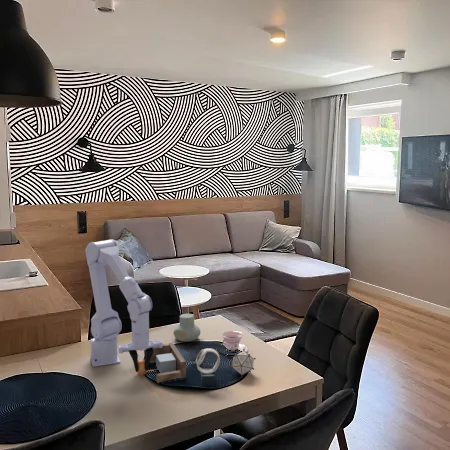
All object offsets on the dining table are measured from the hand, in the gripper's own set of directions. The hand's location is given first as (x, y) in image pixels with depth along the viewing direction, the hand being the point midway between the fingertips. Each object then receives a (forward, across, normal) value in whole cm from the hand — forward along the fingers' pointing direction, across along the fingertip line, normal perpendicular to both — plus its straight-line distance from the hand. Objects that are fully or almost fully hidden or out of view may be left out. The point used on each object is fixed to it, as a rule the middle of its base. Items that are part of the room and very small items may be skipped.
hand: (141, 369), depth 160 cm
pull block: (+1, +5, 0) cm, 5 cm away
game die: (+2, +32, -12) cm, 35 cm away
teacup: (+2, +37, +8) cm, 38 cm away
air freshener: (+2, +24, +25) cm, 34 cm away
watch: (+2, +20, -13) cm, 23 cm away
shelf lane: (+1, +8, 0) cm, 9 cm away
